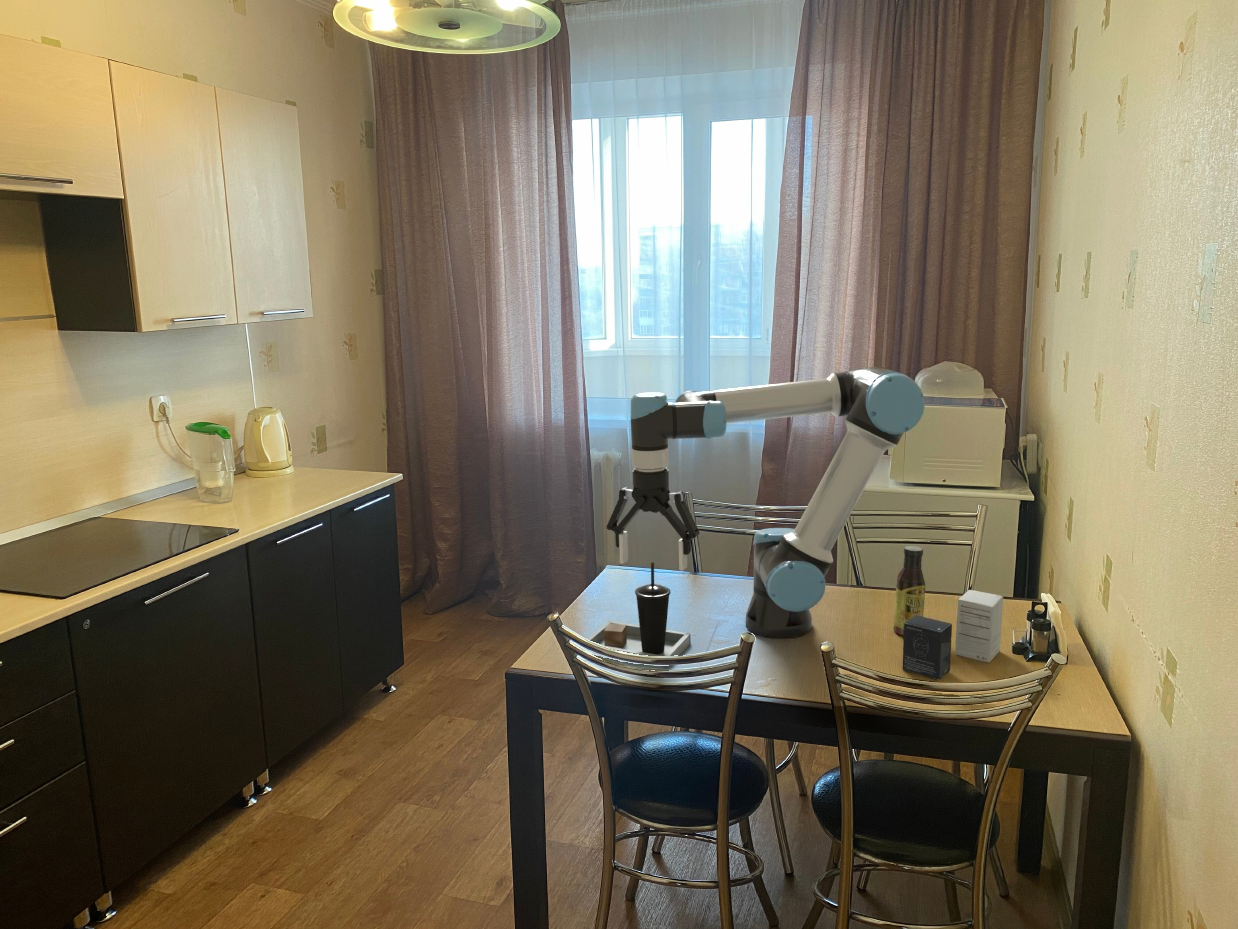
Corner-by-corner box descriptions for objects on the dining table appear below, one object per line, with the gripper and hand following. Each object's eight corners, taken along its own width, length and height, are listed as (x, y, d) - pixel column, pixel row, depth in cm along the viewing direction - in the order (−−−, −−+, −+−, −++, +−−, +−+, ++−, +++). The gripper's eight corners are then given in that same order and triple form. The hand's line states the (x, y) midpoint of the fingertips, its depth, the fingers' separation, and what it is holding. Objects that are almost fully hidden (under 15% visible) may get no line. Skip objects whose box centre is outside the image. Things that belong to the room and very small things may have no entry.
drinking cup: (668, 658, 191) (667, 568, 187) (633, 656, 193) (631, 567, 189) (673, 644, 199) (672, 557, 195) (638, 642, 200) (637, 556, 196)
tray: (690, 645, 199) (690, 633, 199) (666, 671, 187) (666, 658, 186) (609, 632, 208) (608, 620, 207) (581, 656, 195) (580, 643, 195)
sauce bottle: (905, 639, 200) (909, 554, 195) (887, 629, 205) (890, 546, 201) (929, 634, 202) (933, 550, 198) (910, 625, 208) (914, 542, 203)
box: (950, 671, 184) (953, 623, 181) (938, 681, 180) (941, 631, 177) (913, 661, 189) (916, 613, 187) (901, 670, 185) (903, 622, 183)
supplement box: (965, 643, 197) (969, 588, 194) (1000, 651, 193) (1004, 595, 190) (953, 654, 192) (957, 598, 189) (989, 663, 187) (993, 606, 184)
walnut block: (626, 641, 201) (626, 624, 200) (622, 649, 197) (621, 631, 196) (609, 640, 202) (609, 623, 201) (604, 647, 198) (604, 630, 197)
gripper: (713, 467, 185) (714, 565, 189) (604, 460, 195) (608, 554, 200) (701, 475, 178) (702, 577, 183) (588, 468, 189) (592, 564, 193)
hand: (653, 565), depth 191 cm, fingers open, 13 cm apart
